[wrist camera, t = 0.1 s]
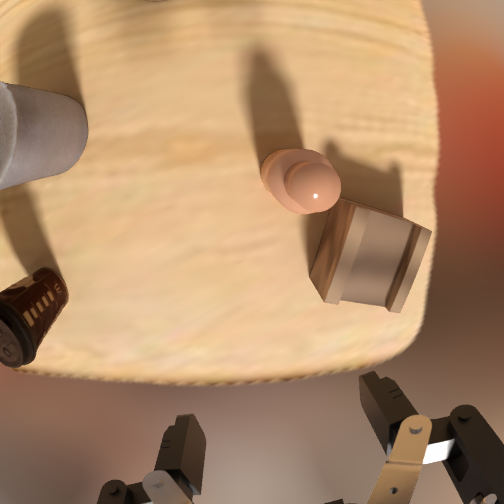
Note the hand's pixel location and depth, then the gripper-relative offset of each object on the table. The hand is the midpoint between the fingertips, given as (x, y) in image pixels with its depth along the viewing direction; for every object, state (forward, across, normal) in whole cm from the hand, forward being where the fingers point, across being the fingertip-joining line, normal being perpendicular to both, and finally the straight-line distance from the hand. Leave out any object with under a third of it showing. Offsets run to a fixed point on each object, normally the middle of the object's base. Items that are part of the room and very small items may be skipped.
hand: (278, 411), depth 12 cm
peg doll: (+21, -6, -10) cm, 24 cm away
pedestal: (+23, -13, 0) cm, 26 cm away
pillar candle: (+20, +18, -22) cm, 35 cm away
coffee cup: (+22, +27, -5) cm, 35 cm away
